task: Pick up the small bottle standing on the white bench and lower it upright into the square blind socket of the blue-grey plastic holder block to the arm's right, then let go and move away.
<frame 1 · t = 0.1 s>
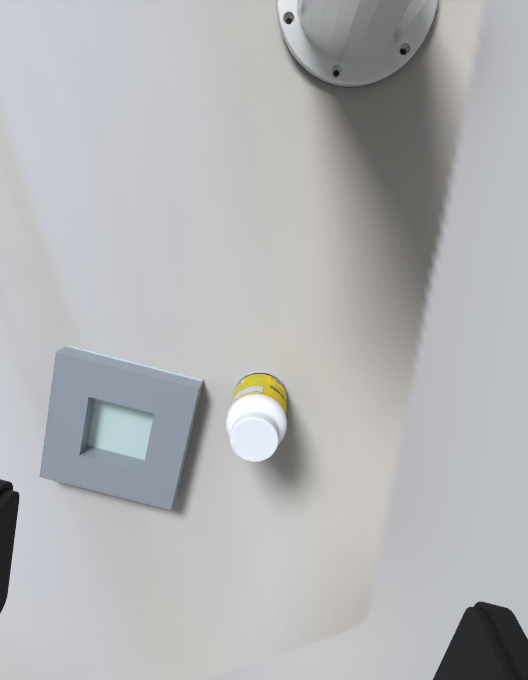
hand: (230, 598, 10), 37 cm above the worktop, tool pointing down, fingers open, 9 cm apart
supplement bottle: (261, 393, 48), on the worktop
holder block: (124, 423, 50), on the worktop
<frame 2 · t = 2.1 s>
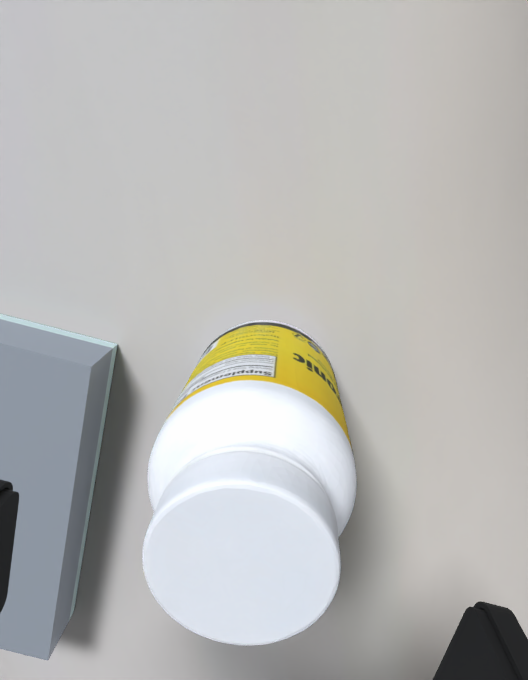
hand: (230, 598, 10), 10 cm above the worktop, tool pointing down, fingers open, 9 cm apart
supplement bottle: (266, 380, 19), on the worktop
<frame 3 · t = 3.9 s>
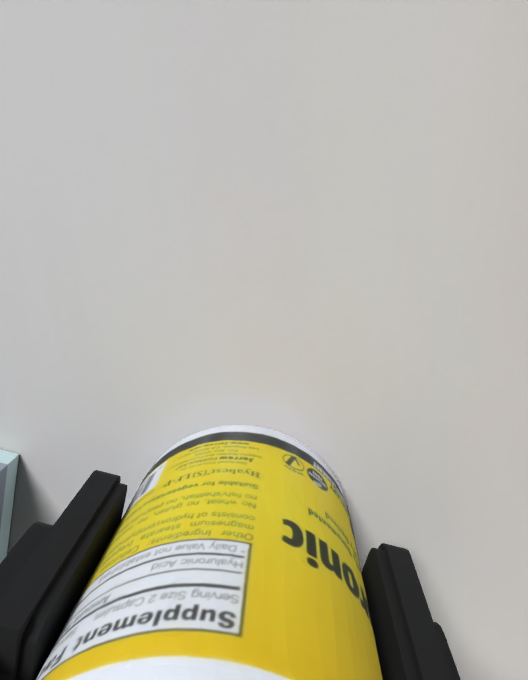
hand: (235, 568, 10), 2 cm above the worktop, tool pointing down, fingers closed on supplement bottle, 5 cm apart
supplement bottle: (245, 506, 13), on the worktop, touching gripper
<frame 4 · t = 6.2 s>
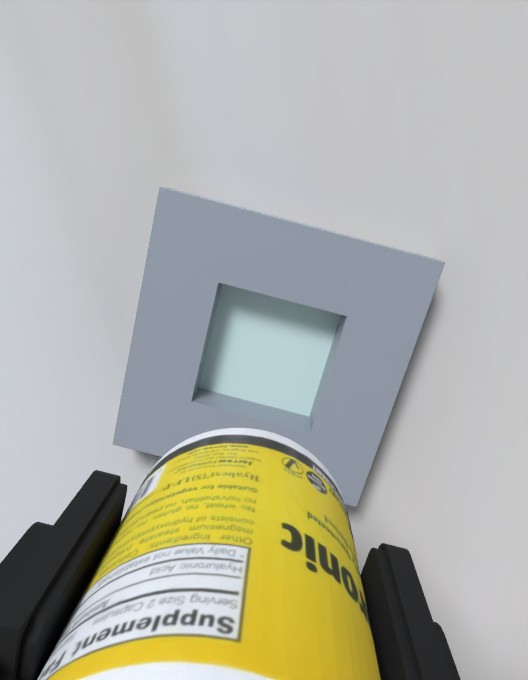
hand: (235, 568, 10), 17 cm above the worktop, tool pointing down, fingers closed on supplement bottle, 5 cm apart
supplement bottle: (244, 509, 13), point 15 cm above the worktop, touching gripper
holder block: (268, 346, 27), on the worktop
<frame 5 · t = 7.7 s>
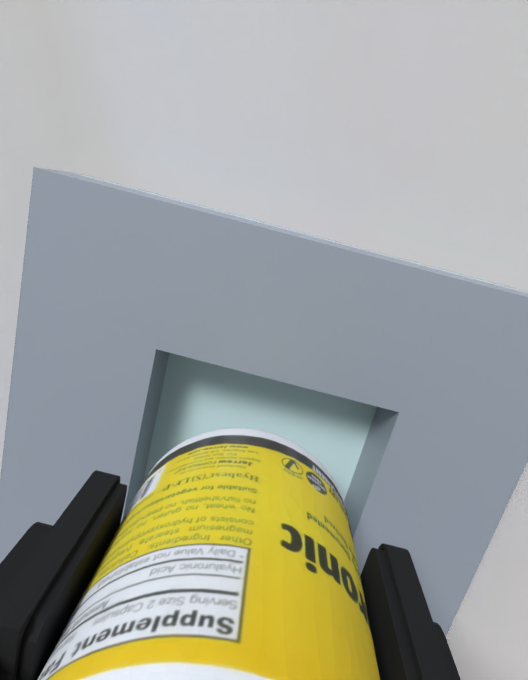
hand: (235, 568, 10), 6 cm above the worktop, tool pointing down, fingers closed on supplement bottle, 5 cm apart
supplement bottle: (244, 509, 13), point 3 cm above the worktop, touching gripper
holder block: (255, 443, 16), on the worktop
when the fingers open (3 cm above the worktop, at t = 8.8 s): supplement bottle stays where it is, resting on holder block.
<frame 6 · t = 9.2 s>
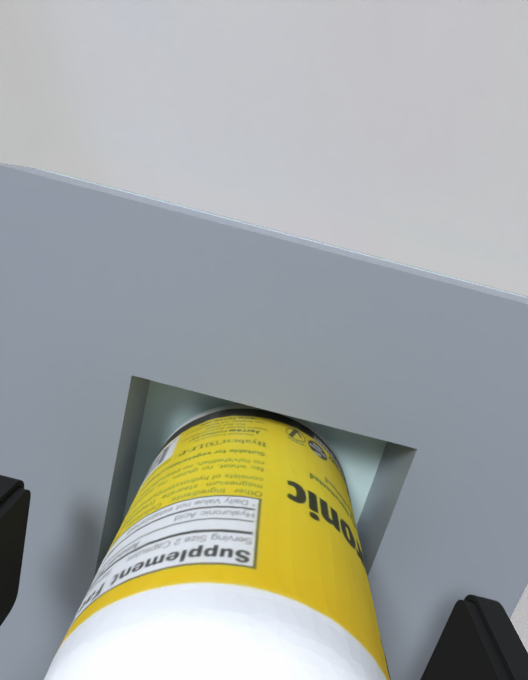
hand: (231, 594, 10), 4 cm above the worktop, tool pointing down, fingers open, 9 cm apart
supplement bottle: (250, 479, 14), resting on holder block
holder block: (249, 476, 14), on the worktop
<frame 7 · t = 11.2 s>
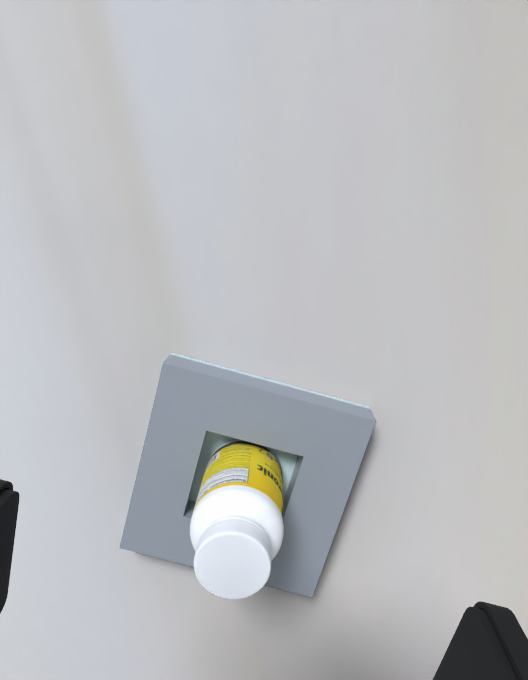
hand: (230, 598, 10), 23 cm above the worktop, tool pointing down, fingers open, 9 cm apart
supplement bottle: (245, 469, 34), resting on holder block
holder block: (244, 468, 34), on the worktop
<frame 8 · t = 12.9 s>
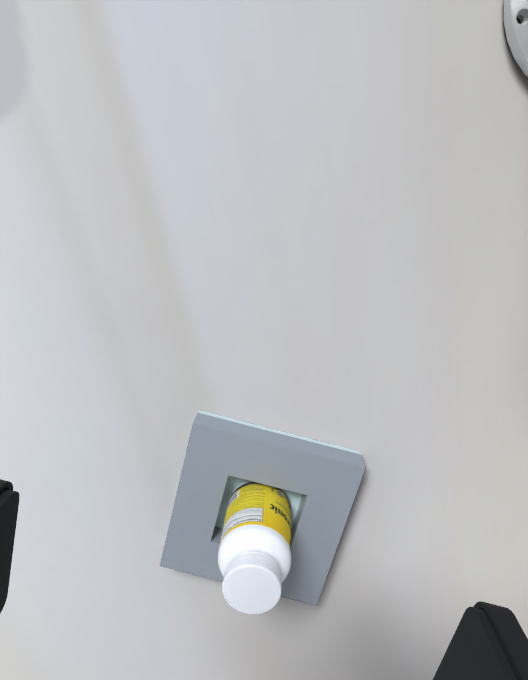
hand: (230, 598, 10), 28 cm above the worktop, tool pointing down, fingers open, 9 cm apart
supplement bottle: (260, 502, 41), resting on holder block
holder block: (259, 501, 42), on the worktop
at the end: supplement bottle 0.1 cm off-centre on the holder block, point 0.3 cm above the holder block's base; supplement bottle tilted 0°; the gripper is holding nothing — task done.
